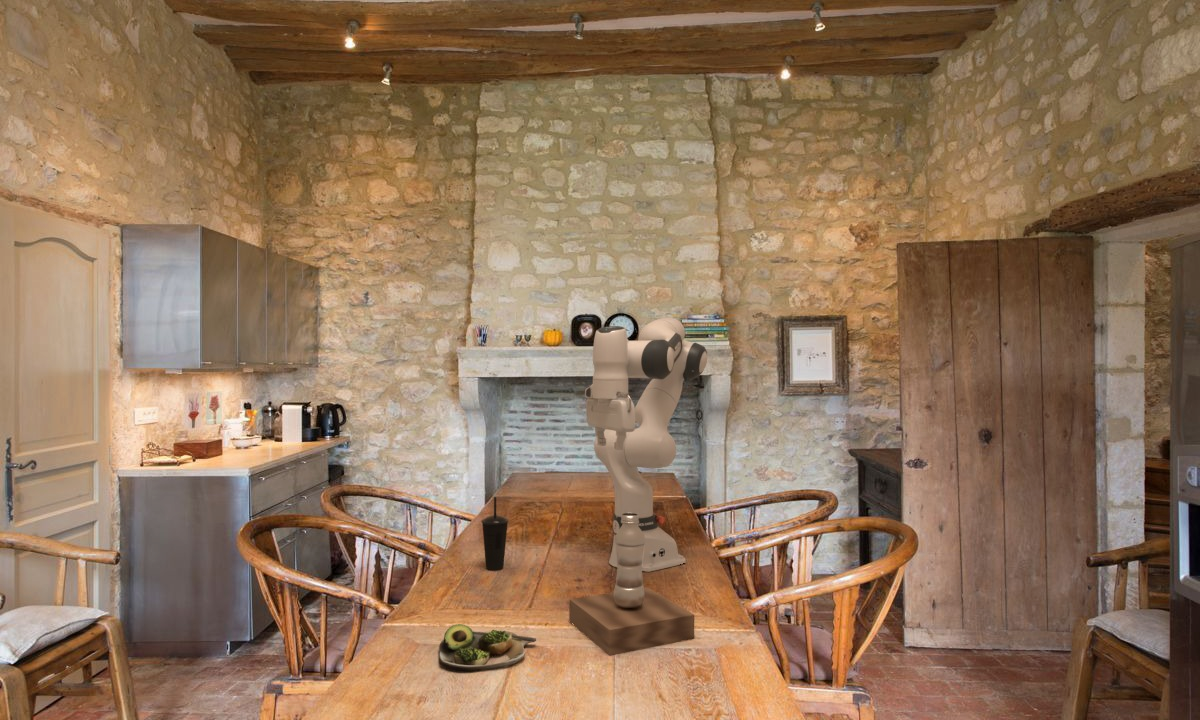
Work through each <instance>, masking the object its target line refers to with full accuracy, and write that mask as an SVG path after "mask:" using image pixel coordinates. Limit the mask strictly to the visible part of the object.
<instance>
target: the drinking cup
mask: <svg viewBox="0 0 1200 720" xmlns="http://www.w3.org/2000/svg"><path fill="white" fill-rule="evenodd" d="M480 522H481V524H482V535H483V546H484V547H483V548H484V549H483V551H484V559H485V560H484V561H485V569H486V571H489V570H490V571H489V572H497V571H498V572H499V571H502V570H503V569H504V564H505V556H506V555H505V553H506V544H507V533H508V523H509V522H510V519H509V518H507V517H505V516H503V515H498V514H497V496H494V497H493V515H489V516H487V517H485V518H482V519H481V521H480Z"/></svg>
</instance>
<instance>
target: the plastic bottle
mask: <svg viewBox="0 0 1200 720" xmlns="http://www.w3.org/2000/svg"><path fill="white" fill-rule="evenodd" d="M621 523H622V526H621V528H620V529H619V530H618V532H617V534H616V537H615V543H616V544H615V545H616V554H617V567H616V568H617V569H616V576H615V577H616V578H615V584H614V590H613V592H614V600H615V602H616V604H617V605H618V606H620V607H624V608H636V607H639V606H641V605H642V603H643V601H644V595H645V594H644V588H645V586H644V584H643V582H644V581H643V571H642V560H643V551H644V545H645V536H644V534H643V532H642V531H641V529H640V528H639V526H638V523H639V520H638V514H637V513H622V514H621Z"/></svg>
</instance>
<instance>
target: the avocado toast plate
mask: <svg viewBox="0 0 1200 720" xmlns="http://www.w3.org/2000/svg"><path fill="white" fill-rule="evenodd" d="M536 641H537V638H536V637H531V636H530V637H529V636H522V635H518V634H517V633H514V632H510V631H507V630H497V629H492V630H491V631H482V632H481V631H474V630H472V628H470V627H469V626H467V625H465V624H460V623H459V624H458V623H457V624H453V625H452V626H449V627H448V629H447V630H446V631H445V633H444V636H443V639H442V640H441V641H440V643H439V646H438V654H439V656H438V661H439V664H440V665H441V666H442V667H443V668H445V669H447V670H449V671H453V672H459V673H462V672H464V673H465V672H477V671H485V670H493V669H498V668H504V667H507V666H512V665H513V664H516V663H518V662H519V661H521V660H523V659H524V657H525V656H526V651H525V650H526V649H525V648H524V647H525V646H526V645H528V644H530V643H531V644H532V643H535V642H536ZM502 656H507V657H508V658H509V659H507V660H504V661H502V662H501V661H500V662H497V663H496V662H495V663H492V664H490V663H489V664H487V662H488V661H489V660H490V659H493V658H495V657H502Z"/></svg>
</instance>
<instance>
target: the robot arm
mask: <svg viewBox="0 0 1200 720" xmlns="http://www.w3.org/2000/svg"><path fill="white" fill-rule="evenodd" d="M626 329H627V328H625V327H624V326H621V325H620V326H619V325H610V326H603V327H602V326H601V327H599V328H598V329H596V331H595V334H594V339H593V347H592V365H593V368H594V370H593V375H592V384H591V385H589V387H587V388H586V389H585V391H584V397H585V398H586V403H585V405H586V406H585V407H586V408H585V409H586V410H585V412H586V413H585V414H586V416H585V417H586V423H587V425H588V426H589V427H593V428H594V432H595V436H596V437H595V439H594V444H593V449H594V453H595V455H596V457H597V459H598V460H599V461H600V462H601V463H602V464H603V465H604V466H605V468H606V470H607V471H608V474H609V477H610V478H611V481H612V484H613V491H614V513H613V519H612V522H613V525H612V528H613V529H612V530H613V542H612V549H611V554H610V556H609V560H608V563H609V565H611V566H612V567H614V568H617V554H616V545H615V544H616V543H615V537H616V534H617V532H618V530H619V529H620V528H621V526H622V523H621V514H622V513H637V514H638V520H639V523H638V526H639V528H640V529H641V531H642V532H643V534H644V536H645V545H644V551H643V560H642V572H647V573H649V572H655V571H657V570H662V569H666V568H668V569H669V568H673V567H675V566H680V564H681V565H684V564H683V563H685V564H686V563H687V562H686V561H687V560H686V558H685V556H683V555H681V554H680V553H679V552H678V545H677V542H676V540H675V538H673V537H672V536H671V535H670V534H668V533H667V532H665V530H663V529H662V528H661V527H660V526H659V524H661V525H664V524H665V522H666V518H665V517H664V516H661V515H656V514H654V509H653V508H654V491H653V490H654V489H653V487H652V486H651V484H650V483H649V482H648V481H647V480H645V478H644V477H642V475H641V474H640V471H639V469H638V468H642V469H643V468H644V469H650V470H651V469H652V470H653V469H661V468H662V469H663V468H667V467H669V466H670V465H671V464H672V463H673V462H674V460H675V458H676V456H677V455H676V454H677V444H676V441H675V440H674V438H673V436H672V435H671V434H670V433H669V432H668V427H669V424H670V421H671V419H672V417H673V414H674V413H675V410H676V408H677V405H678V403H679V401H680V398H681V394H682V391H683V385H684V384H683V383H684V382H685V383H690V382H691V381H692V380H693V379H696V378H698V377H699V376H700V375H701V374H703V372H704V370H705V368H706V366H707V363H708V351H707V349H706V347H705V346H704V345H702V344H700V343H697V342H691V341H689V340H687V339H685V337H686V329H685V326H684V325H683V324H682V322H681V321H680V320H678V319H676V318H674V317H661V318H658V319H655V320H651V322H649V323H646V325H644V326H643V327H642V328H641V330H640V332H639V335H638V339H637V340H629V339H628V333H627V330H626ZM629 379H651V380H650V381H649V383H648V384H647V386H646V387H645V389H644V390H643V392H642V394H641V395H640V398H639V399H638V401H637V403H636V405H635V404H634V402H633V400H632V398H631V396H630V394H629ZM636 423H637V424H636ZM636 425H638V427H637V428H636Z"/></svg>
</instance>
